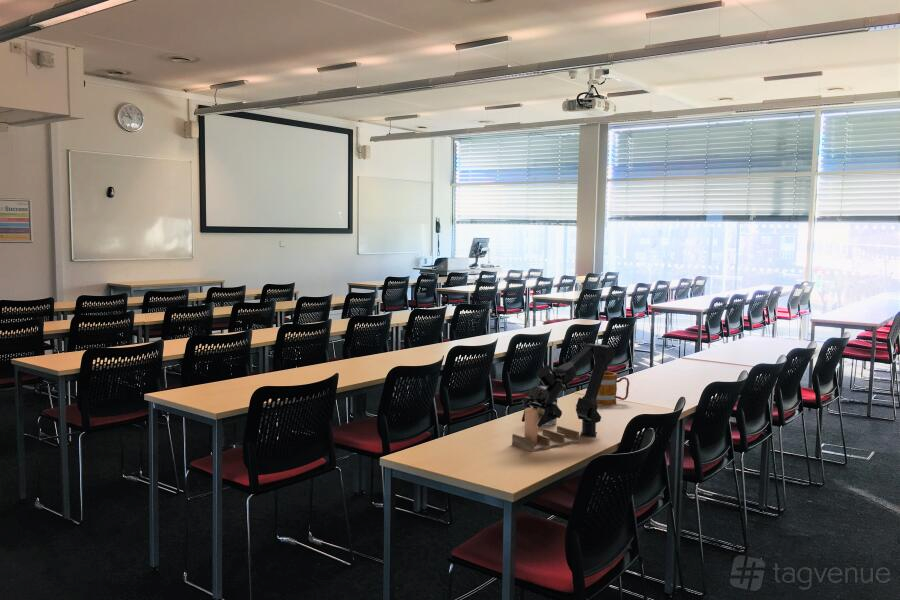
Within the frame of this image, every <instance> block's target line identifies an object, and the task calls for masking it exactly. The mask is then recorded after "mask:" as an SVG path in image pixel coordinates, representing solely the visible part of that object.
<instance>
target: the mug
mask: <svg viewBox="0 0 900 600" xmlns="http://www.w3.org/2000/svg"><path fill="white" fill-rule="evenodd" d="M590 374H592V371H591V372H590ZM622 380H625V381H626V388H625V396H624V397H621V396H618V395H617V390H618V384H617V383H620V382H621V381H622ZM629 389H630V380H629V378H628V377H626V376H623V377H620V378H619V379H618V373H617V372H613V371H608V370H605V373H604V376H603V379H602V382H601V385H600V389H599V392H598V395H597V398H596V401H597V405H598V404H602V405H601V406H613V405H616V404H617V399H618V400H620V401H625V400H627V398H628V396H629ZM612 404H613V405H612Z"/></svg>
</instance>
